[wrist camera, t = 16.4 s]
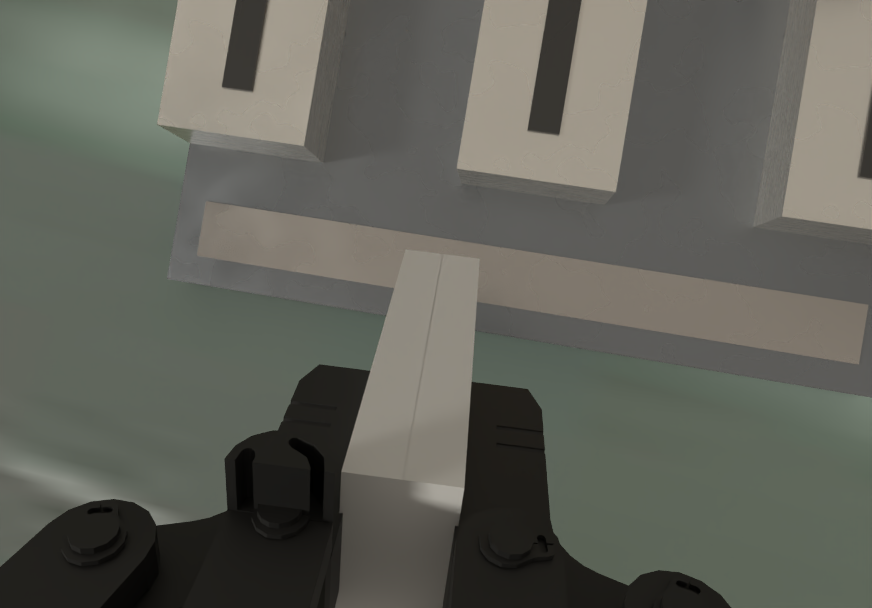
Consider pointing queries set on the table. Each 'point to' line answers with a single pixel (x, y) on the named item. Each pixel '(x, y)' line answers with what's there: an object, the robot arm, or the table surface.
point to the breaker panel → (642, 212)
